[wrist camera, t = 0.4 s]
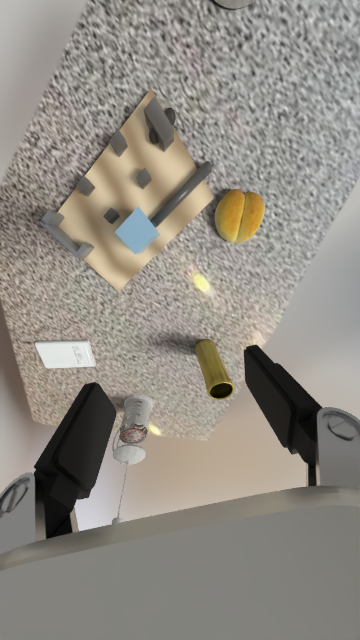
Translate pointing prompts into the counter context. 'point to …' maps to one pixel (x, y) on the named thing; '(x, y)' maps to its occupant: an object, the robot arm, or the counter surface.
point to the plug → (156, 215)
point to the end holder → (64, 234)
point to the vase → (213, 370)
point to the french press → (132, 434)
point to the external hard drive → (65, 353)
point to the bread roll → (239, 215)
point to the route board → (133, 191)
